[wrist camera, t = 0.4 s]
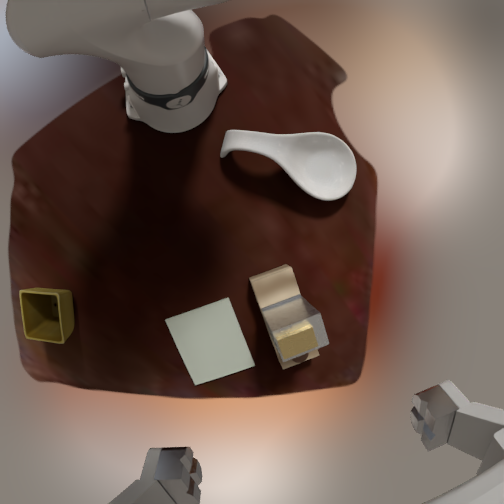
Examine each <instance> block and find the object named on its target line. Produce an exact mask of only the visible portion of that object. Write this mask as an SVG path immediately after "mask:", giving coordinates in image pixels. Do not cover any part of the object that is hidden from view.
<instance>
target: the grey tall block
mask: <svg viewBox="0 0 504 504" xmlns="http://www.w3.org/2000/svg"><path fill="white" fill-rule="evenodd" d="M262 313H263V316H264V319H265V321H266V324H267V327H268V330H269V332H270V335H271V338H272V340H273V342H274V344H275V346H276V348H277V351H278V353H279V355H280V357H281V359H282V361H283V362H286V361H288V360H291V359H293V358H296V357H299V356H301V355H304V354H306V353H309V352H311V351H313V350H316V349H318V348H321V347H323V346H325V345H328V344H329V341H328V338H327V334H326V331H325V327H324V324H323V321H322V317H321V314H320V312H319V311H318V310H316V309H315V308H314V307H313V306H312V305H311V304H310V303H309V302H308V301H306V300H305V299H304V298H303V297H302V296H301V297H298V298H296V299H293V300H290V301H288V302H285V303H282V304H280V305H277V306H275V307H272V308H269V309H267V310H264V311H262Z"/></svg>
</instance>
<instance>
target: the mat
mask: <svg viewBox="0 0 504 504" xmlns="http://www.w3.org/2000/svg"><path fill="white" fill-rule="evenodd" d="M165 321H166V323H167V326H168V328H169V330H170V332H171V335H172V337H173V339H174V341H175V344H176V346H177V348H178V350H179V352H180V355H181V357H182V359H183V361H184V363H185V365H186V367H187V369H188V371H189V374H190V376H191V378H192V380H193V382H194V384H195V385H198V384H201V383H204V382H207V381H211V380H214V379H217V378H220V377H223V376H226V375H229V374H232V373H235V372H238V371H241V370H244V369H247V368H250V367H253V366H255V364H254V362H253V359H252V357H251V354H250V352H249V349H248V346H247V344H246V341H245V339H244V336H243V334H242V331H241V329H240V326H239V323H238V321H237V318H236V316H235V313H234V311H233V308H232V305H231V303H230V300H229V297H228V298H225V299H222V300H220V301H217V302H214V303H211V304H208V305H206V306H203V307H200V308H197V309H194V310H191V311H188V312H185V313H183V314H180V315H177V316H174V317H171V318H168V319H166V320H165Z"/></svg>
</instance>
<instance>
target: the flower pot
mask: <svg viewBox="0 0 504 504" xmlns="http://www.w3.org/2000/svg"><path fill="white" fill-rule="evenodd" d="M55 303H56V306H55V305H54V304H55ZM20 305H21V313H22V320H23V327H24V333H25V337H26V338H27V339H31V340H38V341H45V342H52V343H58V344H63V343H64V342H65V341H66V340H67V338H68V337H69V336H70V334H71V333H72V331H73V329H74V310H73V298H72V292H71V291H69V290H59V289H46V288H31V289H25V290H20Z"/></svg>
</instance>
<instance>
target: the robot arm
mask: <svg viewBox="0 0 504 504" xmlns="http://www.w3.org/2000/svg"><path fill="white" fill-rule="evenodd" d="M226 1H229V0H8V2H7V7H6V24H7V29H8V32H9V34H10V36H11V38H12V40H13V41H14V42H15V43H16V45H17V46H18V47H19V48H20V49H22V50H23V51H25V52H26V53H28V54H30V55H33V56H36V57H39V58H43V57H48V56H55V55H63V54H82V55H90V56H95V57H100V58H104V59H108V60H110V61H113V62H116V63H117V64H119V65H120V66H121V72H122V76H123V77H125V83H124V88H125V90H126V111H127V115H128V117H129V118H130V119H133V120H138V121H143V122H145V123H147V124H148V125H149V126H151V127H152V128H154V129H156V130H159V131H162V132H167V133H178V132H184V131H187V130H190V129H192V128H194V127H196V126H198V125H199V124H201V123H202V122H203V121H204V120H205V119H206V118H207V117H208V116H209V115H210V113H211V112H212V110H213V108H214V106H215V103H216V100H217V97H218V95H219V94H220V93H221V92H222V90H223V89H224V88H225V87H226V85H227V79H226V77H225V75H224V74H223V72H222V71H221V69H220V68H219V66H218V65H217V64H216V62H215V61H214V59H213V58H212V56H211V55H210V53H209V52H208V50H207V49H206V47H205V46H204V29H203V25H202V23H201V21H200V19H199V18H198V16H197V15H196V14H195V13H194V12H193V11H191V9H195V8H200V7H205V6H209V5H215V4H220V3H223V2H226ZM131 106H132V107H133V108H131ZM412 403H413V404H414V407H413V408H412V410H411V423H412V425H413V428H414V430H415V431H416V432H417V433H419V434H422V437H421V441H422V442H423V444H424V446H425V447H426V449H427V451H430V450H432V449H435V448H437V447H439V446H442V445H444V444H446V443H448V444H449V445H451V446H453V447H455V448H457V449H459V450H461V451H463V452H465V453H467V454H469V455H472V456H474V457H476V458H478V459H480V460H482V463H481V465H480V467H479V469H478V471H477V476H475V477H473V478H472V479H470V480H468V481H466V482H464V483H463V484H461V485H459V486H457V487H455V488H453V489H451V490H450V491H448V492H446V493H444V494H442V495H439V496H437V497H436V498H434V499H431V500H429V501H427V502H424V503H422V504H504V410H503V409H500V408H496V407H492V406H488V405H484V404H480V403H477V402H472V403H470V401H469V400H468V399H467V398H466V397H465V396H464V395H463V394H462V393H461V392H460V390H459V389H458V388H456V386H455V385H454V384H453V383H452V382H451V381H450V380H447V381H444V382H442V383H440V384H437V385H435V386H433V387H430V388H428V389H426V390H424V391H421V392H419V393H416V394H414V396H413V398H412ZM201 482H202V471H201V466H200V464H199V462H198V460H197V459H195V458H193V451H192V450H191V448H190V447H170V448H150V449H149V451H148V453H147V456H146V460H145V463H144V467H143V470H142V474H141V478H140V480H136V481H135V482H133V483H132V484H131V485H130V486H129V487H128V488H126V489H125V490H124V491H123V492H122V493H121V494H119V495H118V496H117V497H116V498H114V499H113V500H112V501H111V502H110V503H109V504H199V503H200V494H201V491H200V489H199V487H198V485H199V484H200V483H201Z"/></svg>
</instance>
